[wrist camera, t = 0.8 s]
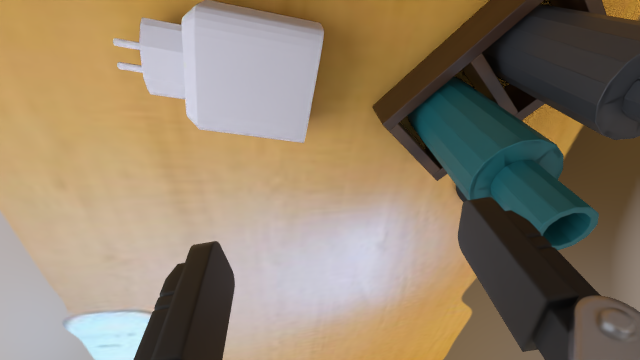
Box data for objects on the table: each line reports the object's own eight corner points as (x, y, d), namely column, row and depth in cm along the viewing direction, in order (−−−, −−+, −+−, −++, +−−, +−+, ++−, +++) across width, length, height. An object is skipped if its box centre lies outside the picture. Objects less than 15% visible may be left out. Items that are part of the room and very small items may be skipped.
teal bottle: (399, 91, 29) (505, 214, 15) (461, 62, 28) (637, 166, 14) (414, 140, 33) (512, 279, 19) (470, 116, 32) (619, 244, 17)
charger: (119, -20, 22) (320, 21, 25) (137, 100, 28) (302, 123, 30) (85, -16, 19) (325, 32, 21) (113, 122, 24) (304, 147, 26)
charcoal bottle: (475, 23, 26) (695, 97, 12) (547, -12, 25) (879, 25, 11) (483, 85, 30) (663, 199, 16) (547, 57, 29) (803, 152, 15)
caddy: (371, 106, 30) (382, 124, 27) (544, -50, 24) (585, -51, 20) (423, 160, 34) (437, 181, 31) (580, 40, 28) (619, 50, 25)
